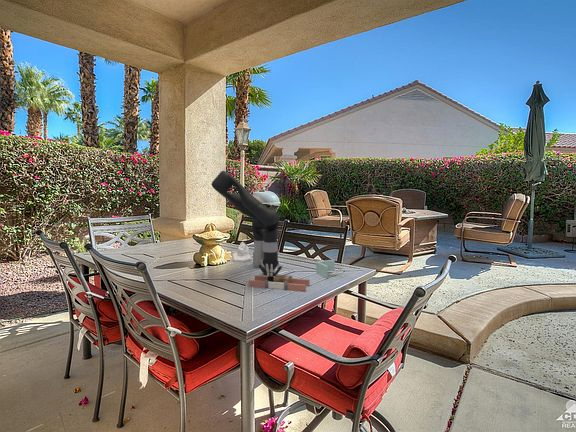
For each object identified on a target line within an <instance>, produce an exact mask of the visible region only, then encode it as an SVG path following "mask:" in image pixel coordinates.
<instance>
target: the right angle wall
mask: <svg viewBox="0 0 576 432" xmlns="http://www.w3.org/2000/svg"><path fill="white" fill-rule="evenodd" d="M315 263H316V265H315V266H316V267H315V268H316V269H315V274H317V275H319V276H320V277H322V278H325V279H327V280H328V279H329V277H330V278H331V277H336V275H337V273H336V271H335V270H336V269H335V265H336V259H328V260H327V259H326V260H320V261H316V262H315Z"/></svg>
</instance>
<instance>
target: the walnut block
mask: <svg viewBox="0 0 576 432" xmlns="http://www.w3.org/2000/svg"><path fill="white" fill-rule="evenodd" d="M290 276H291V275H287V274H277V275H276V276H274V282H281V283H284V281H287V283H290Z"/></svg>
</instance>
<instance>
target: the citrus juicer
mask: <svg viewBox="0 0 576 432" xmlns="http://www.w3.org/2000/svg"><path fill="white" fill-rule="evenodd" d="M232 260H233V263H242V264H243V263H244V264H245V263H247V262H251V261H252V257H251V255H250V253H249V246H248V245H247V244H246V243H245V242H244V241H242V242H240V244H239V246H238V248H237V249H236V252H233V253H232Z"/></svg>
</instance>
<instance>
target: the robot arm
mask: <svg viewBox="0 0 576 432" xmlns="http://www.w3.org/2000/svg"><path fill="white" fill-rule="evenodd" d="M211 186H212V188H213V189H214V190H215V191H216V192H217V193H219V194H220V195H221V196H222V197H223V198H225V199H226V200H227V201H229V203H230V204H232V206H234V207H235V209H236V210H238V211H239V212H240V214H241V213H242V214H243V215H244V216H246V217H249V218H251V220H252V221H251V227H252V228H251V229H252V237H253V252H252V267H253V268H256V269H260V271H261V272H262V274H263V273H264V275H267V276H268V281H269V282H273V281H274V277H275V276H277V275H279V273H280V272H281V270H282V269H283V265H280V263H279V247H278V231H279V230H278V229H279V223H280V222H279V221H280V219H279V215H278V213H277V212H276V211H274V210H273V211H272V210H271V211H269V210H268V209H267V208H266V207H265V205H264V204H263V203H262V202H261V201H260V200H259V199H257V198H256V197H255V196H253V194H251V193H250V192H249V191H248V190H247V189H246V188H245V187H244V186H243V185H242V184H241V183H240V182H239V181H238V180H237V179H236V178H235V177H234V176H233V175H232V174H230V173H229V172H227V171H225V170H222V171H220V173H218V175H216V177H215V178H214V179H213V180H212V182H211ZM232 187H234V188H235V189H236V190H237V191H238V193H233V192H232V193H231V192H229V190H231V188H232ZM261 260H263V262H262V263H261ZM264 266H265V268H266V269H265V268H264ZM266 270H267V271H266ZM274 271H275V273H274ZM264 275H263V276H264Z"/></svg>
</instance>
